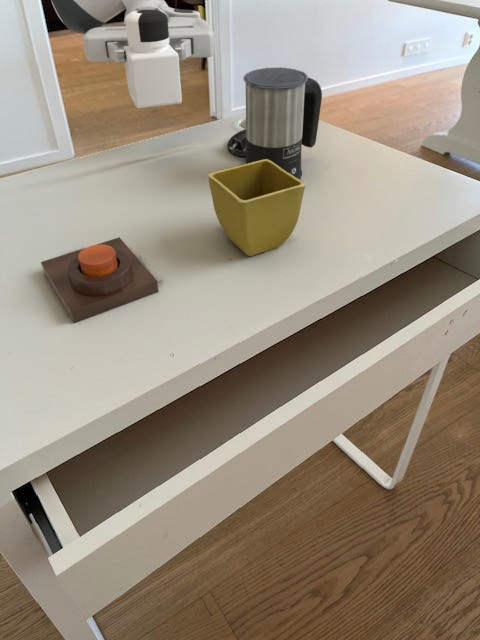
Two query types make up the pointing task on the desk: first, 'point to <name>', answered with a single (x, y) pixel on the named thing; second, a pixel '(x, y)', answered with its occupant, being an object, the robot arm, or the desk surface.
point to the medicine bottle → (151, 60)
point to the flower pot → (256, 204)
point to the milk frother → (278, 118)
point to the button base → (99, 282)
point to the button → (97, 260)
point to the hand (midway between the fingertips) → (150, 55)
